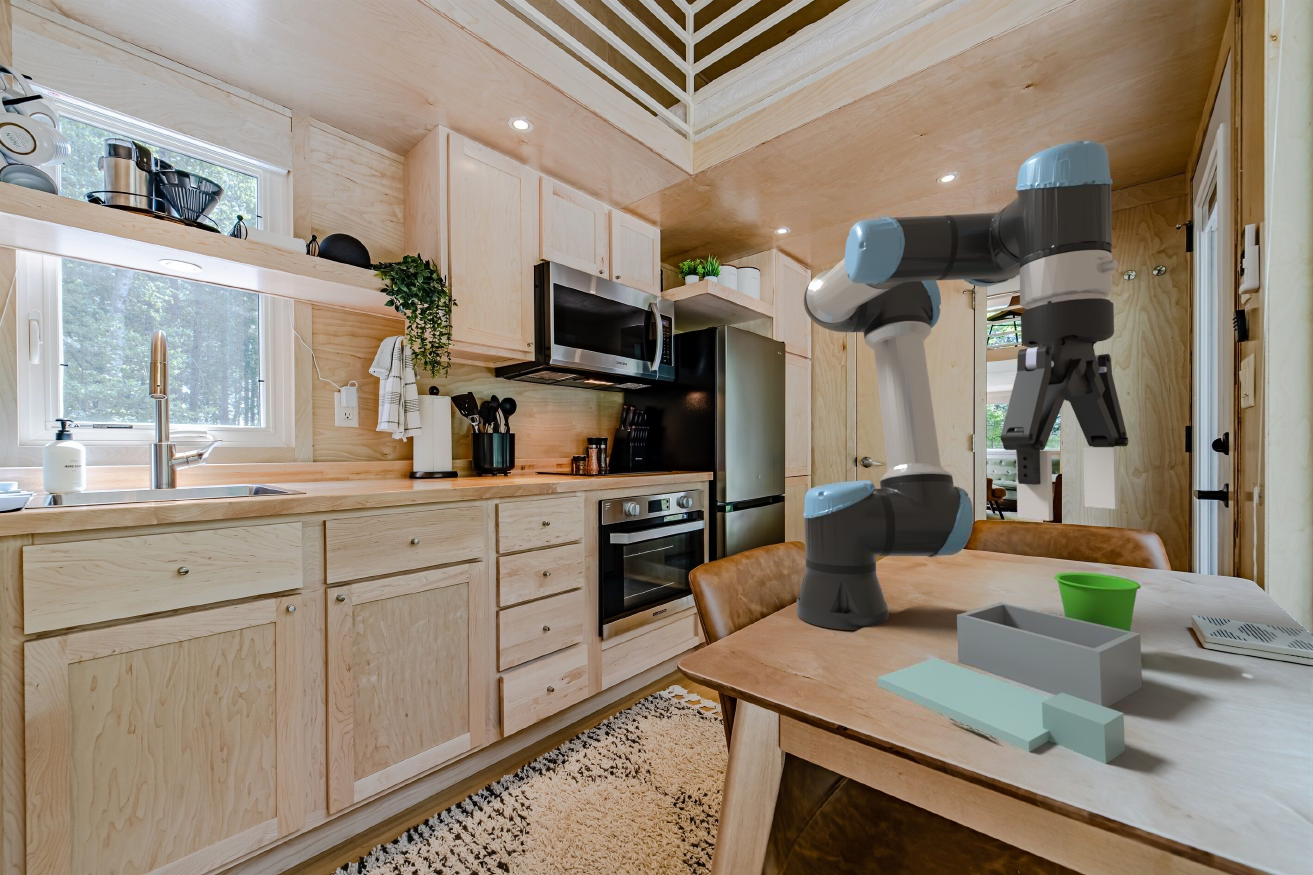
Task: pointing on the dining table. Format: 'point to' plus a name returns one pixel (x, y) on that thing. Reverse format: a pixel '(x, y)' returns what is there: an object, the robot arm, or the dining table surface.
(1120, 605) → the cup
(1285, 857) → the dining table surface
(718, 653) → the dining table surface
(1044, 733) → the lid
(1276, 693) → the dining table surface
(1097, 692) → the tub
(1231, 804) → the dining table surface
